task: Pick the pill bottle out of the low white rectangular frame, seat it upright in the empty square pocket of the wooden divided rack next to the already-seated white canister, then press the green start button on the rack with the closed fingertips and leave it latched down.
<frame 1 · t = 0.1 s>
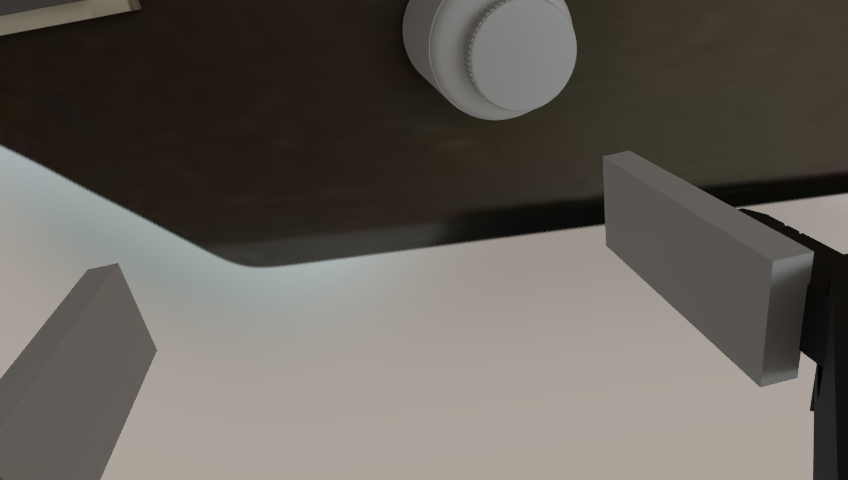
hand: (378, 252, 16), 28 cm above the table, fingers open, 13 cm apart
pill bottle 2: (456, 29, 41), on the table
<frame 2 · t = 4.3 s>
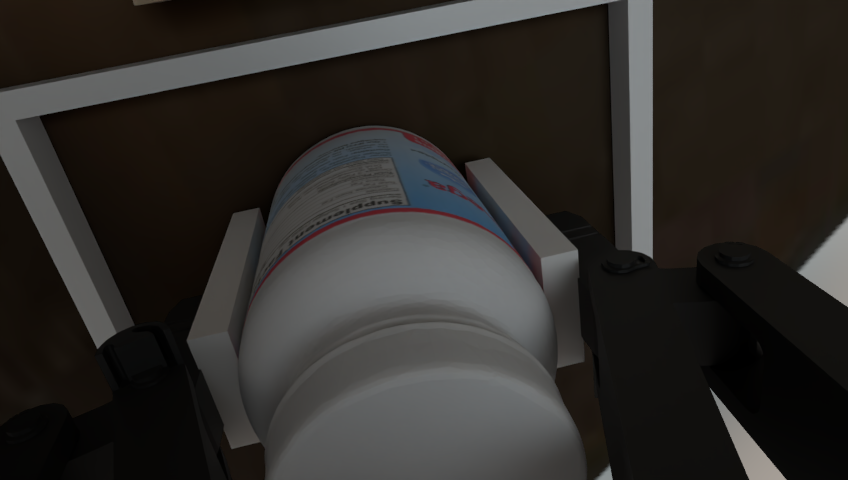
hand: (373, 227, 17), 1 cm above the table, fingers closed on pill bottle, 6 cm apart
white rectangular frame: (370, 216, 18), on the table
pill bottle: (370, 213, 18), resting in white rectangular frame, touching gripper
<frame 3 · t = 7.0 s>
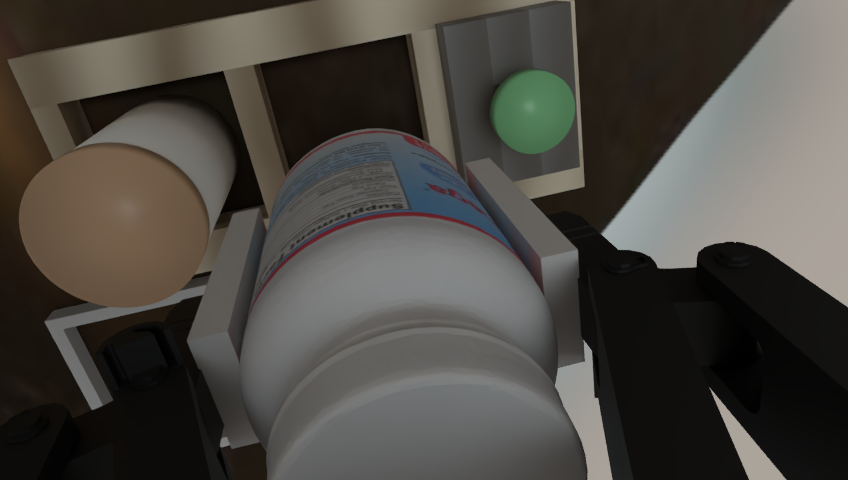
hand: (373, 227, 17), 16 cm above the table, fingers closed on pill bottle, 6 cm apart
white rectangular frame: (237, 355, 36), on the table
wooden divided rack: (330, 120, 31), on the table
button: (525, 107, 27), point 6 cm above the table, slide at 0.0 cm
white canister: (180, 151, 31), resting in wooden divided rack
pill bottle: (370, 216, 18), point 14 cm above the table, touching gripper
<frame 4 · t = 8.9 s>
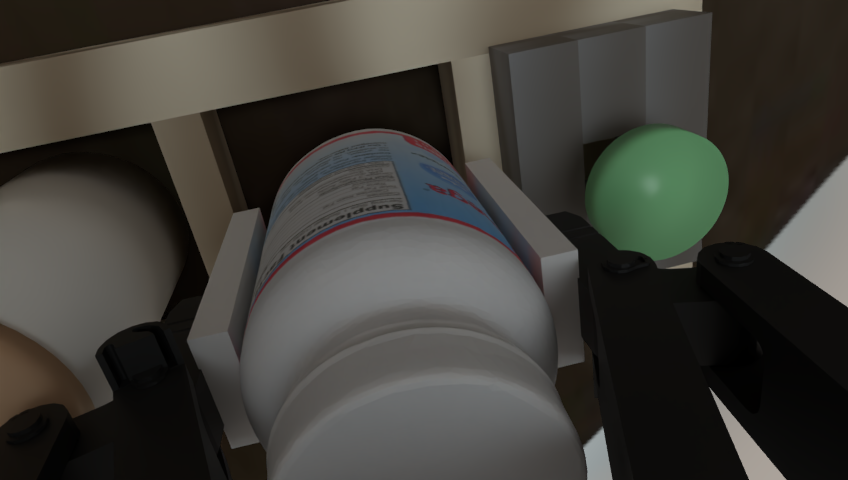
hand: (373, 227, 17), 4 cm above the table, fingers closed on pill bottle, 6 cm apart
wooden divided rack: (323, 186, 21), on the table
button: (638, 182, 17), point 6 cm above the table, slide at 0.0 cm
white canister: (98, 235, 20), resting in wooden divided rack, touching gripper
pill bottle: (370, 216, 18), point 3 cm above the table, touching gripper
when the fingers open (4 cm above the table, at t = 9.5 s): pill bottle drops 3 cm, resting in wooden divided rack.
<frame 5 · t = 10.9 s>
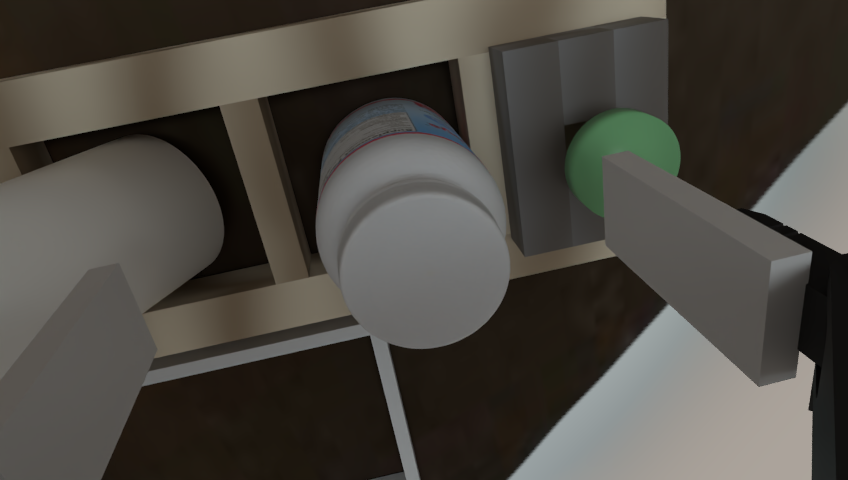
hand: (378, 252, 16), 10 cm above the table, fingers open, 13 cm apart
white rectangular frame: (237, 436, 30), on the table
wooden divided rack: (352, 163, 25), on the table
button: (610, 157, 20), point 6 cm above the table, slide at -0.2 cm
white canister: (161, 206, 23), point 1 cm above the table, tilted 29°, touching wooden divided rack
pill bottle: (391, 163, 26), resting in wooden divided rack
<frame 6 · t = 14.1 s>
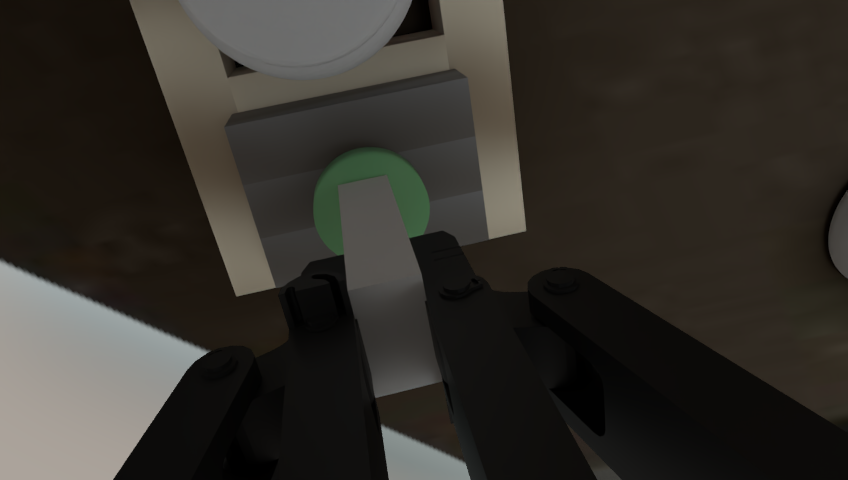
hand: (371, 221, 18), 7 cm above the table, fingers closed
button: (369, 196, 19), point 5 cm above the table, slide at 0.5 cm, touching gripper
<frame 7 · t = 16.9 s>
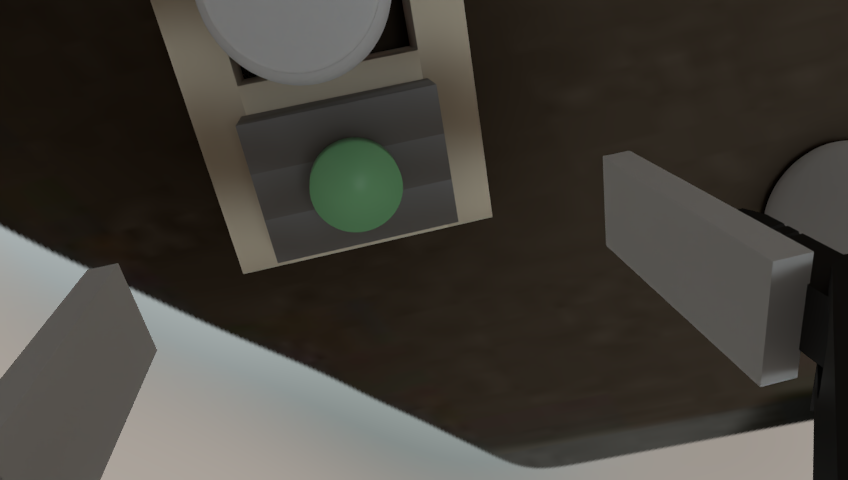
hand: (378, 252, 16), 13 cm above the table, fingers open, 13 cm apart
pill bottle 2: (817, 204, 34), on the table
button: (354, 178, 24), point 5 cm above the table, slide at 1.2 cm
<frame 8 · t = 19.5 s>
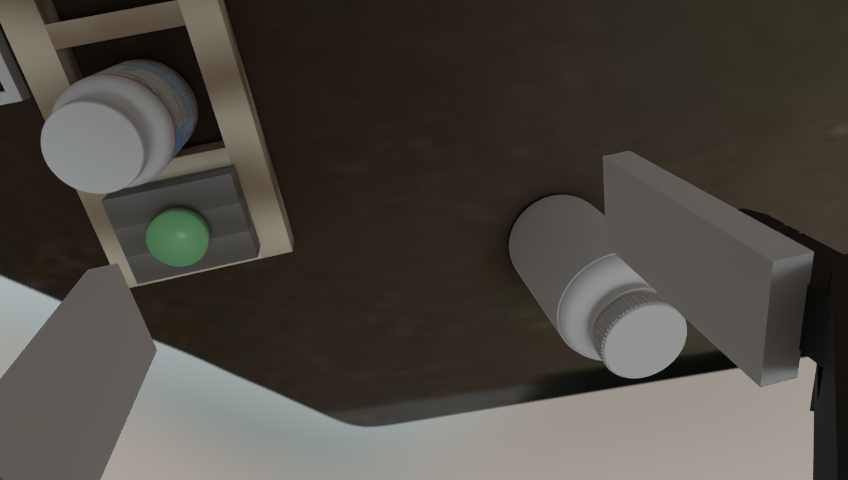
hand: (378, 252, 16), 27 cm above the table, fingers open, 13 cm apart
pill bottle 2: (552, 237, 48), on the table
wooden divided rack: (149, 79, 38), on the table
button: (181, 231, 37), point 5 cm above the table, slide at 1.2 cm
pill bottle: (152, 104, 38), resting in wooden divided rack
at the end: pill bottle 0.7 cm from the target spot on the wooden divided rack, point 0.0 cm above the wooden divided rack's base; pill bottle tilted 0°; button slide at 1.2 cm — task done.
